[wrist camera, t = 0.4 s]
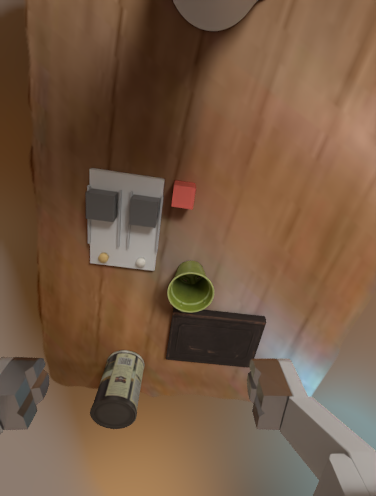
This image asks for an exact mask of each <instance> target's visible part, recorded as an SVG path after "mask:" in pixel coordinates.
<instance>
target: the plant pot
mask: <svg viewBox="0 0 376 496" xmlns="http://www.w3.org/2000/svg"><path fill="white" fill-rule="evenodd" d="M199 276H200V278H199V279H197V278H198V277H199ZM183 279H185V280H187V281H188V282H186V281H184V280H183ZM167 295H168V299H169V301H170V303H171V304H172V305H173V306H174V307H175V308H176V309H178V310H180V311H183V312H189V313H192V312H198V311H201V310H203V309H205V308H206V307H207V306H209V305H210V303H211V302H212V300H213V297H214V287H213V285H212V283H211V281H210V280H209V279H208V278H207V277H206V275H205V272H204V270H203V268H202V266H201V265H200V264H199V263H198V262H195V261H187V262H183V263H182V264H181V265H180V266H179V267H178V269H177V272H176V275H175V278H174V279H173V280H172V281H171V282H170V284H169V286H168V290H167Z"/></svg>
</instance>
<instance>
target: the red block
mask: <svg viewBox="0 0 376 496" xmlns="http://www.w3.org/2000/svg"><path fill="white" fill-rule="evenodd" d="M195 192H196V185H195V183H191V182H184V181H178V180H175V183H174V189H173V197H172V205H171V207H178V208H185V209H192V210H193V204H194V198H195Z"/></svg>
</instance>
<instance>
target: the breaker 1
mask: <svg viewBox="0 0 376 496" xmlns="http://www.w3.org/2000/svg"><path fill="white" fill-rule="evenodd" d="M117 210H118V192H114V191H107V190H100V189H93V188H91V189H90V190H88V191H87V192H86V219H92V220H100V221H107V222H114V220H115V219H116V218H117Z"/></svg>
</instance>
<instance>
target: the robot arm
mask: <svg viewBox="0 0 376 496" xmlns="http://www.w3.org/2000/svg"><path fill="white" fill-rule="evenodd" d="M257 1H258V0H173V2H174V4H175V6H176V8H177V9H178V11H179V12H180V14H181V15H182V16H183V17H184V18H185V19H186V20H187V21H188V22H189V23H191V24H192V25H194V26H196V27H197V28H200V29H203V30H207V31H220V30H224V29H227V28H229V27H231V26H233V25H235V24H236V23H238V22H239V21H240V20H241V19H242V18H243V17H244V16H245V15H246V14H247V13H248V12H249V11H250V9H251V8H252V7H253V5H254V4H255V3H256V2H257ZM44 366H45V362H44V359H43V358H23V357H1V358H0V434H1V433H2V432H3V430H16V429H28V427H29V425H30V423H31V422H32V420H33V418H34V416H35V414H36V412H37V407H36V405H37V404H38V403H39V402H40V401H42V400H43V398H44V397H45V395H46V393H47V389H48V386H49V375H48V373H47V372H46V371H45V370H44V369H43V368H44ZM249 367H250V370H251V371H250V372H249V373H248V377H247V389H248V395H249V399H250V401H251V402H252V403H253V404H254V405H253V411H252V412H253V415H254V420H255V424H256V427H257V429H268V430H280V432H281V433H282V435H283V436H284V437H285V438H286V440H287V441H289V443H290V444H291V446H292V447H293V448H294V449H295V451H296V452H297V453H298V454H299V456H300V457H301V458H302V459H303V461H304V462H305V463H306V464H307V466H308V467H309V468H310V469H311V471H312V472H313V473H314V474H315V476H316V477H317V478H318V479H319V483H318V485H317V487H316V490H315V492H314V494H313V496H376V451H375V450H374V449H373V448H372V447H371V446H369V445H368V444H367V443H366V442H365V441H363V440H362V439H361V438H360V437H359V436H358V435H356V434H355V433H354V432H353V431H352V430H351V429H349V428H348V427H347V426H346V425H345V424H343V423H342V422H341V421H340V420H339V419H338V418H336V417H335V416H334V415H333V414H332V413H331V412H329V411H328V410H327V409H326V408H325V407H323V406H322V405H321V404H320V403H319V402H318V401H316V400H315V399H314V398H313V397H308V395H307V393H306V391H305V389H304V387H303V385H302V383H301V380H300V378H299V376H298V374H297V372H296V370H295V368H294V366H293V363H292V361H291V360H290V359H251V360H250V364H249Z"/></svg>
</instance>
